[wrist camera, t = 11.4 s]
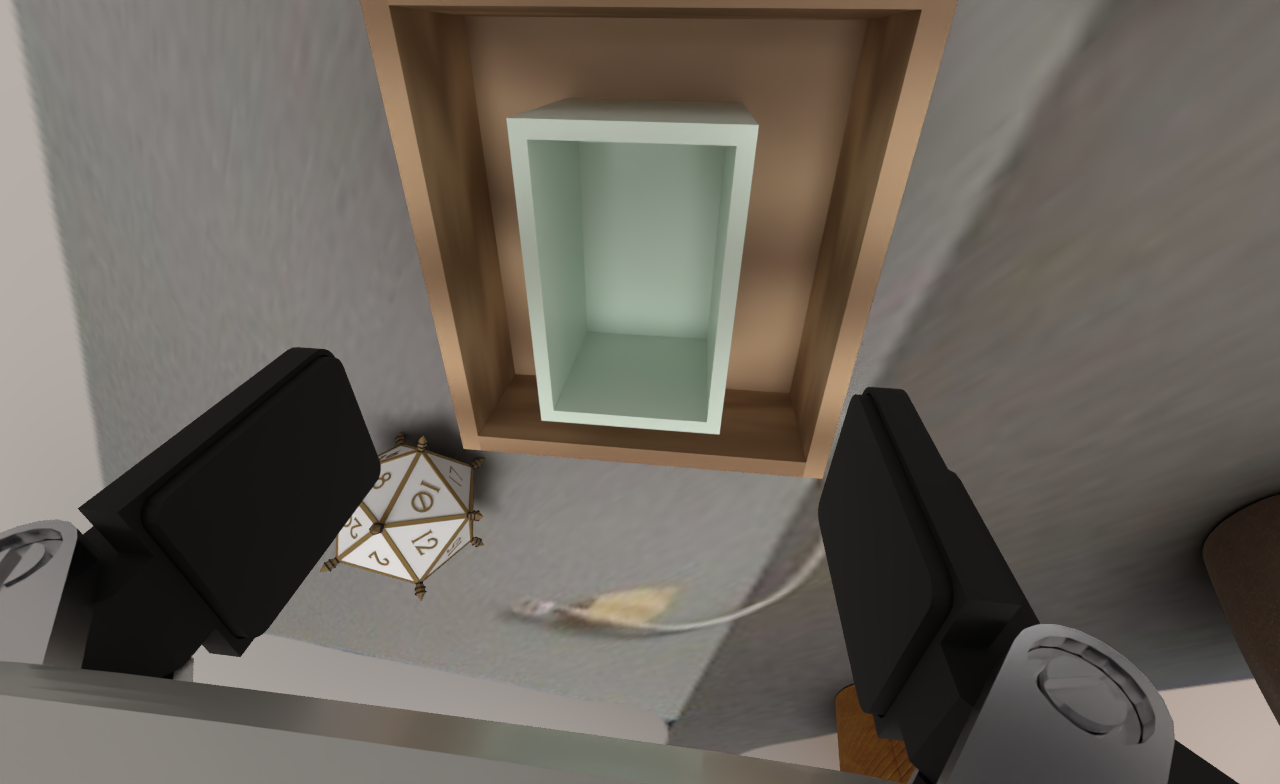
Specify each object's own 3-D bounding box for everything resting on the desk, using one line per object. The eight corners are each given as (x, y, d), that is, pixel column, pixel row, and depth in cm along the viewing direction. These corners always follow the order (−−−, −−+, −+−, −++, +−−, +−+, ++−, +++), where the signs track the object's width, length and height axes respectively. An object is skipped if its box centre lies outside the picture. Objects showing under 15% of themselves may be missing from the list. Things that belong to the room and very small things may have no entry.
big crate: (447, -10, 19) (352, -33, 14) (892, -8, 17) (967, -33, 12) (507, 377, 28) (463, 448, 23) (800, 398, 26) (822, 478, 21)
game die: (444, 438, 36) (297, 532, 30) (434, 370, 29) (241, 475, 24) (527, 533, 34) (384, 652, 28) (538, 484, 27) (351, 629, 21)
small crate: (566, 98, 19) (506, 117, 14) (743, 102, 19) (758, 124, 13) (580, 334, 25) (541, 420, 19) (716, 343, 24) (719, 434, 19)
